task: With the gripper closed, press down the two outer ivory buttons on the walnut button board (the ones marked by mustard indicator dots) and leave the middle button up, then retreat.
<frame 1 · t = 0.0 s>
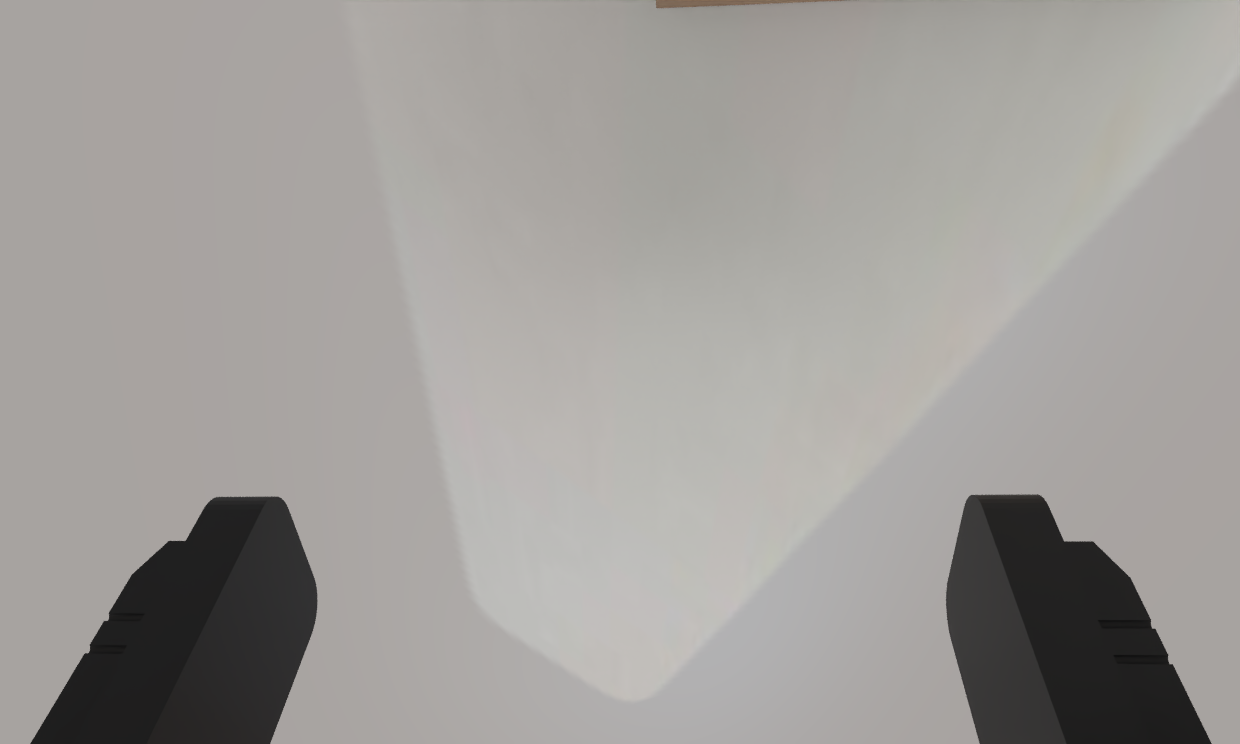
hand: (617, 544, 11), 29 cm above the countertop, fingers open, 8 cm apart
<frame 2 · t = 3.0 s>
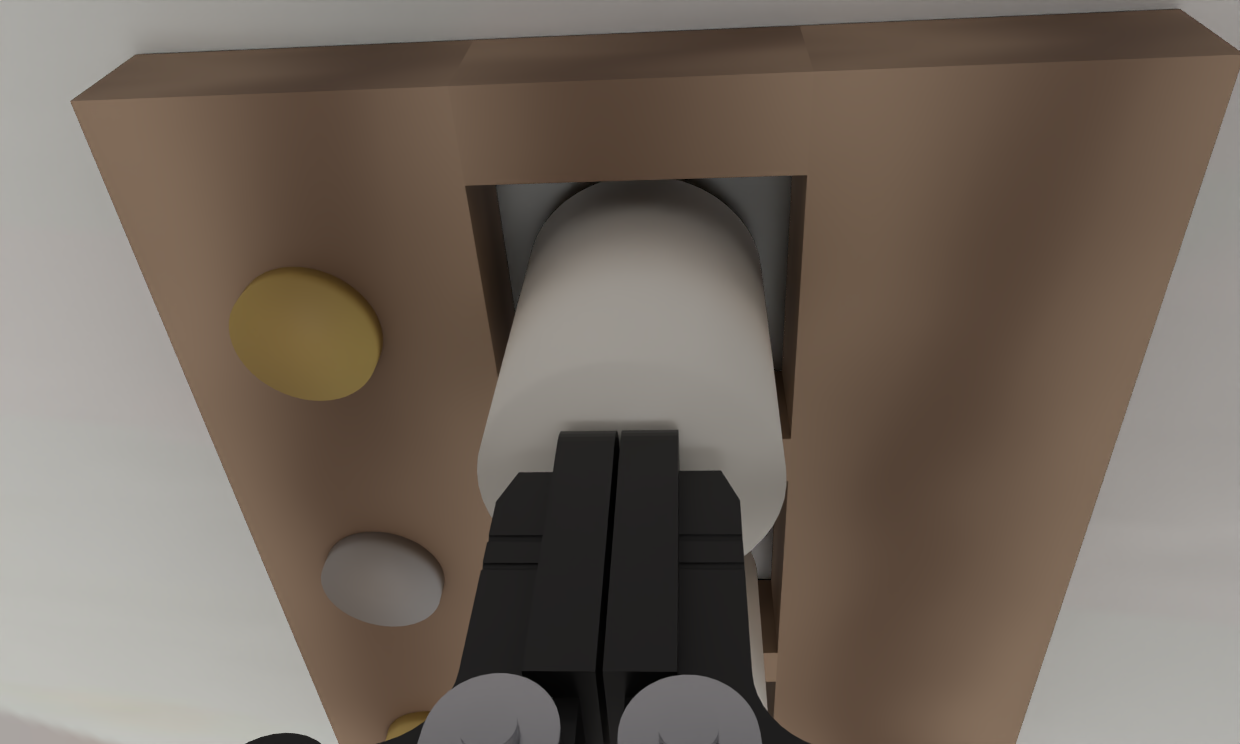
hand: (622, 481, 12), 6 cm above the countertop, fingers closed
board: (658, 502, 20), on the countertop
button b: (651, 686, 17), point 5 cm above the countertop, slide at 0.0 cm
button a: (638, 370, 14), point 3 cm above the countertop, slide at 1.3 cm, touching gripper
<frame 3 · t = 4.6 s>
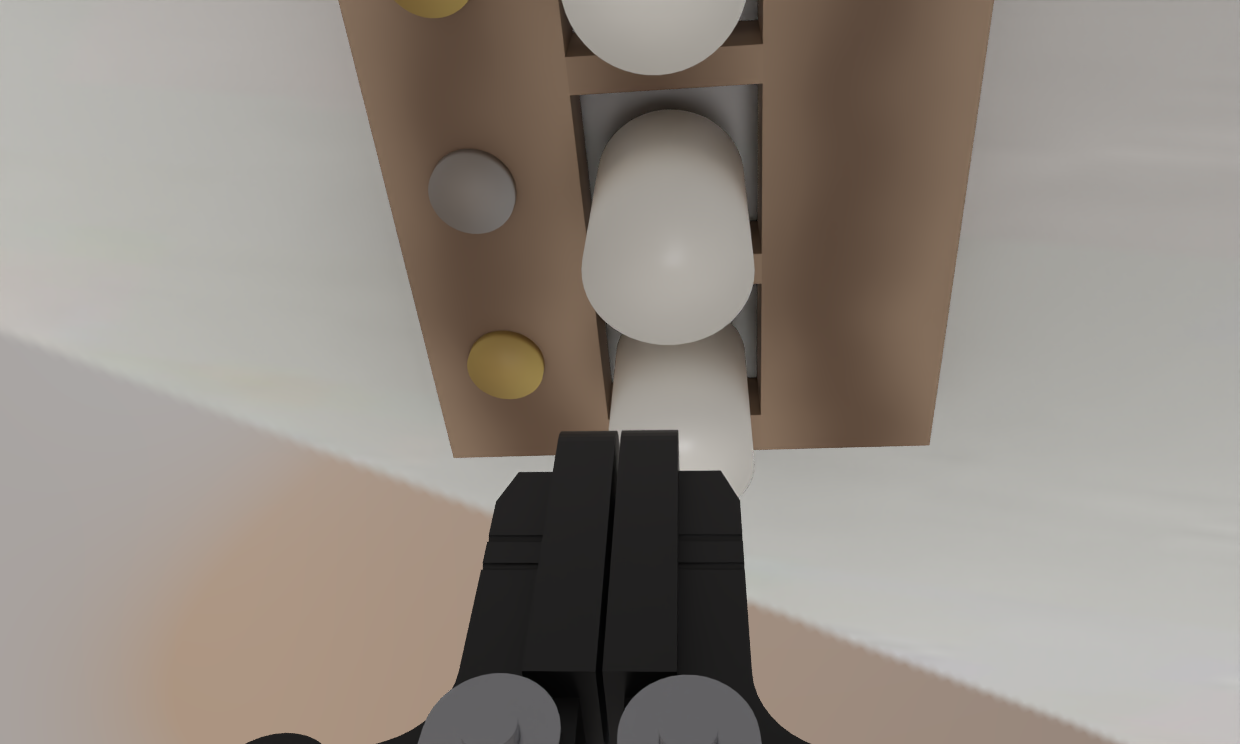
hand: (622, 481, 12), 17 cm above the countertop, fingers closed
board: (671, 148, 28), on the countertop
button b: (669, 223, 24), point 5 cm above the countertop, slide at 0.0 cm
button c: (680, 407, 28), point 5 cm above the countertop, slide at 0.0 cm
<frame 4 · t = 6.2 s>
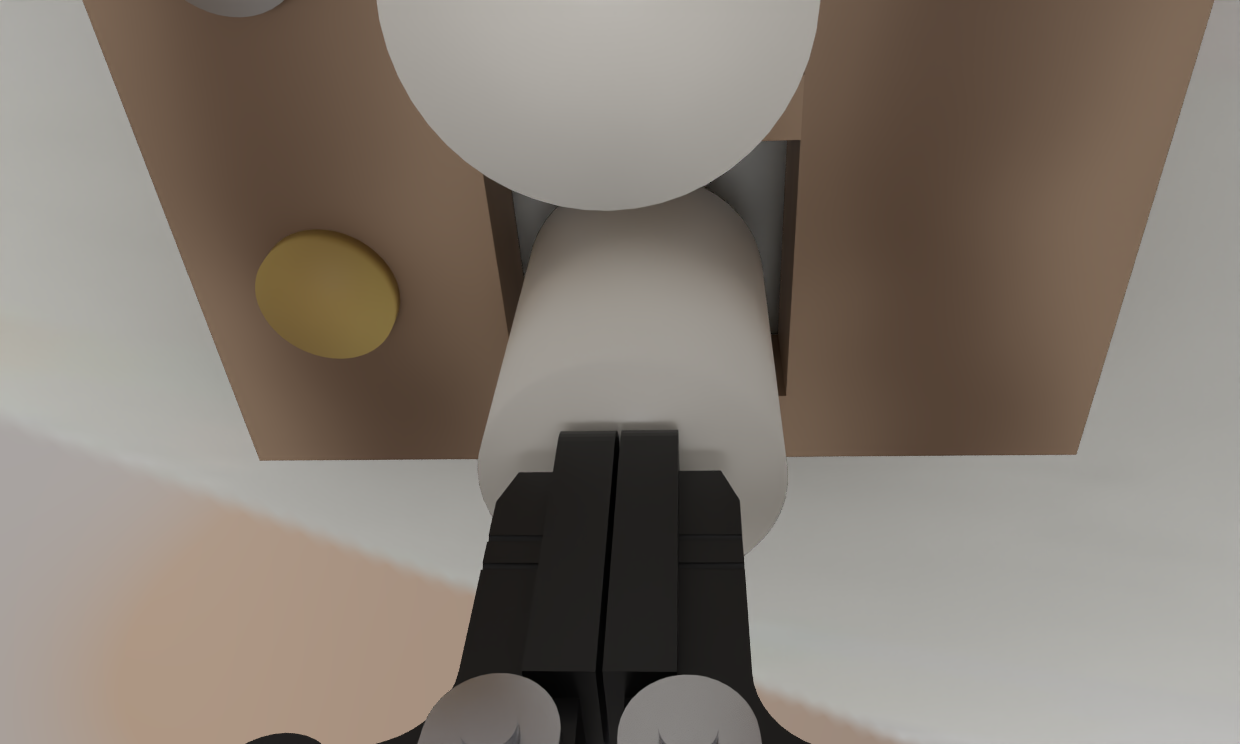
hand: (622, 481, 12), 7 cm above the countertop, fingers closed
button c: (639, 368, 14), point 4 cm above the countertop, slide at 0.2 cm, touching gripper
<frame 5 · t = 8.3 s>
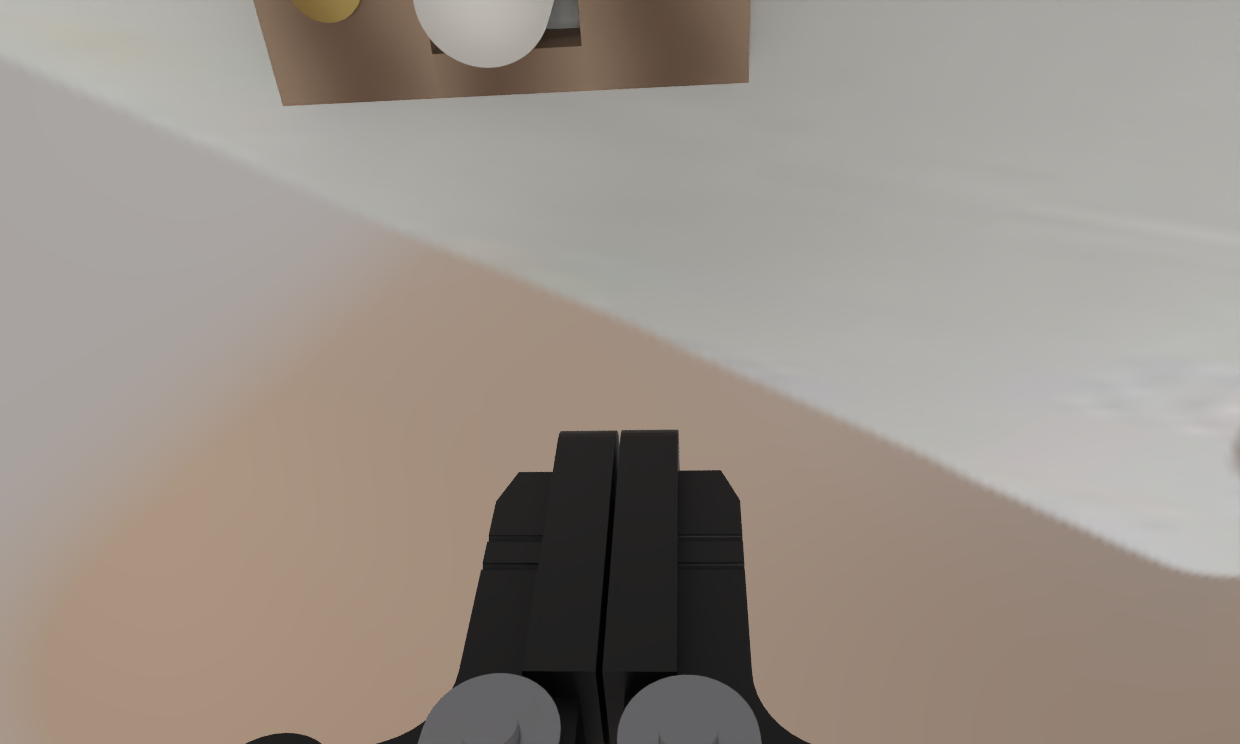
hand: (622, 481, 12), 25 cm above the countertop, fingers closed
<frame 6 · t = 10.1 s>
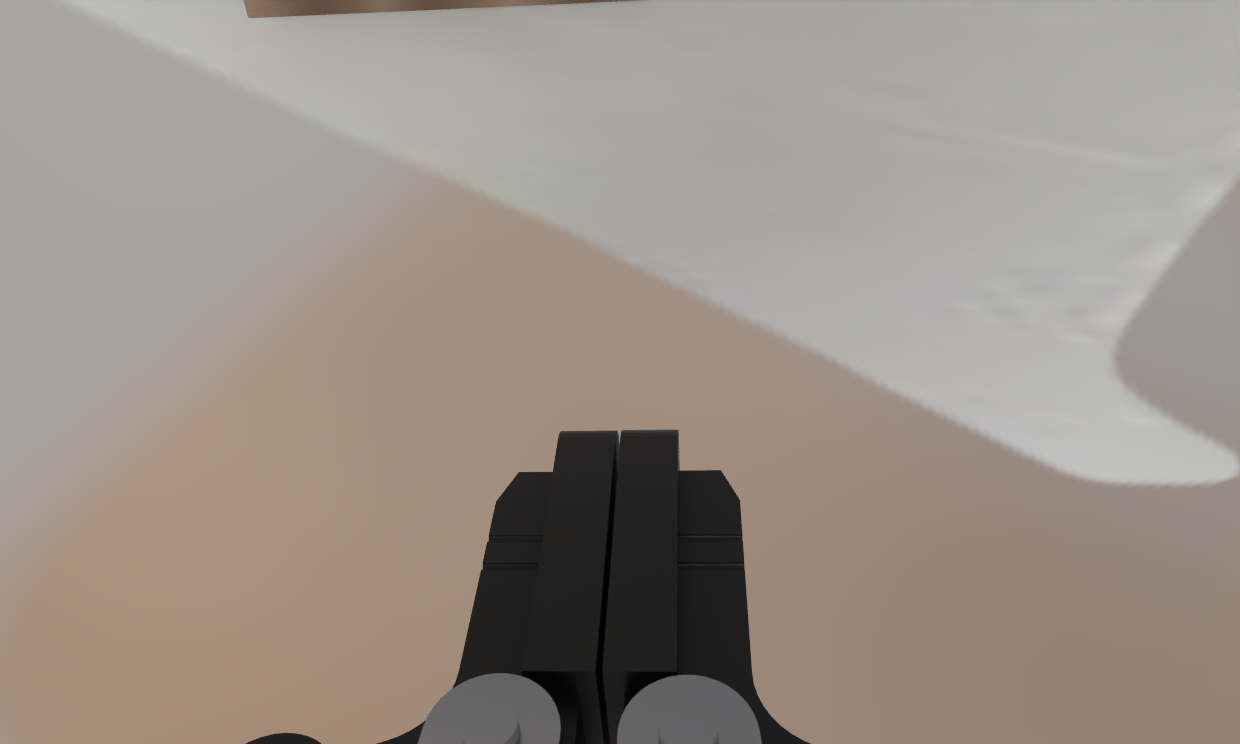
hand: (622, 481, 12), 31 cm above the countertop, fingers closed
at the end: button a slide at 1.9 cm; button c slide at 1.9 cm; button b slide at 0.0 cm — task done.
